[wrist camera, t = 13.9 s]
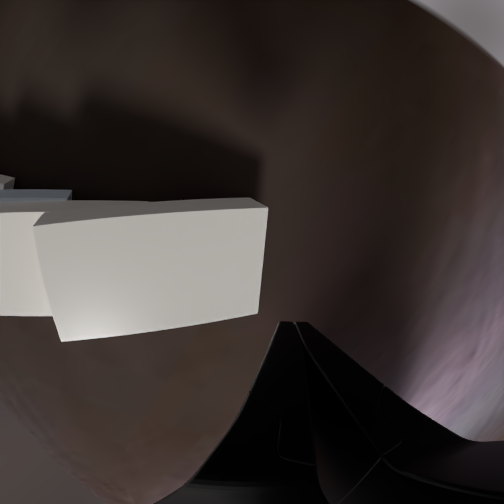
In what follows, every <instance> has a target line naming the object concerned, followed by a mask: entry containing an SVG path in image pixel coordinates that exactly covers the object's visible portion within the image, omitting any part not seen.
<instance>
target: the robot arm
mask: <svg viewBox="0 0 504 504" xmlns="http://www.w3.org/2000/svg"><path fill="white" fill-rule="evenodd" d="M154 504H504V441H488V442H478V441H472V440H468V439H465V438H462V437H460V436H459V435H457V434H455V433H453V432H452V431H450V430H448V429H447V428H445V427H444V426H442V425H440V424H439V423H437V422H436V421H434V420H432V419H431V418H429V417H428V416H426V415H425V414H423V413H422V412H420V411H419V410H417V409H416V408H414V407H413V406H411V405H410V404H408V403H407V402H406V401H404V400H403V399H402V398H400V397H399V396H398V395H396V394H395V393H394V392H393V391H391V390H390V389H389V388H388V387H386V386H385V387H384V384H382V383H381V382H380V381H379V380H377V379H376V378H375V377H374V376H373V375H371V374H370V373H369V372H368V371H366V370H365V369H364V368H363V367H361V366H360V365H359V364H358V363H357V362H355V361H354V360H353V359H352V358H350V357H349V356H348V355H347V354H346V353H344V352H343V351H342V350H341V349H340V348H338V347H337V346H336V345H335V344H333V343H332V342H331V341H330V340H329V339H327V338H326V337H325V336H324V335H323V334H321V333H320V332H319V331H318V330H317V329H315V328H314V327H313V326H312V325H311V324H309V323H308V322H294V323H293V322H287V321H280V322H278V324H277V327H276V329H275V332H274V334H273V337H272V339H271V342H270V344H269V346H268V349H267V351H266V353H265V356H264V358H263V361H262V363H261V365H260V368H259V370H258V372H257V374H256V377H255V379H254V381H253V384H252V386H251V388H250V390H249V393H248V394H247V397H246V399H245V401H244V403H243V405H242V407H241V409H240V411H239V413H238V415H237V417H236V419H235V420H234V422H233V423H232V425H231V426H230V428H229V429H228V431H227V432H226V434H225V435H224V437H223V438H222V439H221V441H220V442H219V443H218V445H217V446H216V447H215V449H214V450H213V451H212V453H211V454H210V455H209V457H208V458H207V459H206V461H205V462H204V463H203V464H202V466H201V467H200V468H199V469H198V471H197V472H196V473H195V474H194V475H193V476H192V477H191V478H190V479H189V480H188V481H187V482H186V483H185V484H184V485H183V486H182V487H180V488H179V489H178V490H176V491H174V492H173V493H171V494H169V495H168V496H166V497H164V498H163V499H161V500H159V501H158V502H156V503H154Z"/></svg>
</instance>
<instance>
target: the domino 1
mask: <svg viewBox="0 0 504 504" xmlns="http://www.w3.org/2000/svg"><path fill="white" fill-rule="evenodd" d="M60 200H72V190H49V189H7V190H0V202H17V201H60Z"/></svg>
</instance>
